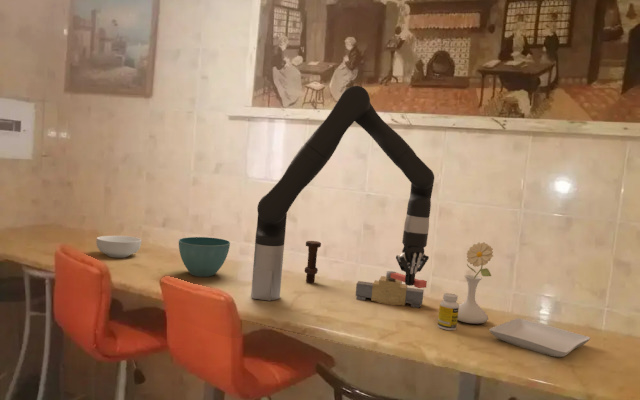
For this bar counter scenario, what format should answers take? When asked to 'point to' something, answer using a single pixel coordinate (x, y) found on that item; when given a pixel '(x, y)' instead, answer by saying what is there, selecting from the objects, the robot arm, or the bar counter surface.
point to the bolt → (312, 260)
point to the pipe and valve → (389, 292)
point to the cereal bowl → (118, 245)
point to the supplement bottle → (448, 312)
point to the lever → (393, 276)
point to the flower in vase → (475, 284)
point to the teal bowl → (203, 254)
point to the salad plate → (539, 337)
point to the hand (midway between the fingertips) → (409, 284)
